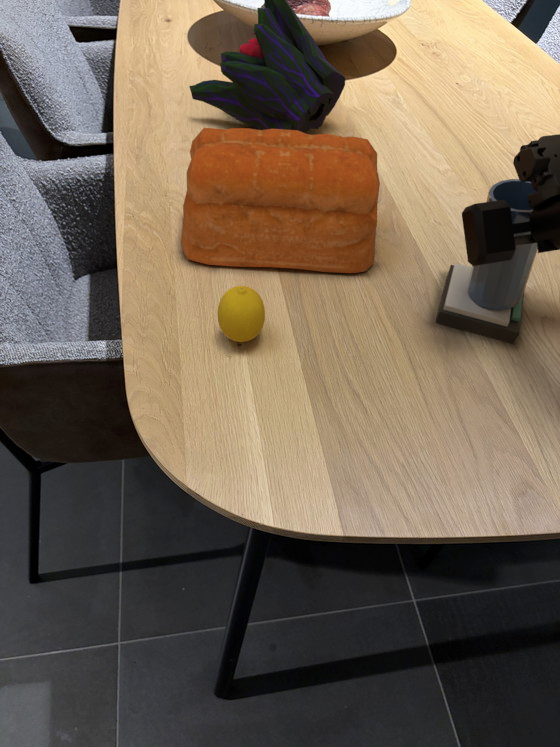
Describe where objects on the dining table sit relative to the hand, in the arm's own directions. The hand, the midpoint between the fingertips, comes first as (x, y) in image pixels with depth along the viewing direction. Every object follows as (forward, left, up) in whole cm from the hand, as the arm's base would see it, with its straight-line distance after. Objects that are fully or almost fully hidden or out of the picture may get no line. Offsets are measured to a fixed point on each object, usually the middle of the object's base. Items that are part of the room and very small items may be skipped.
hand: (500, 237), depth 72 cm
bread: (+28, -2, -11) cm, 30 cm away
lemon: (+26, +18, -11) cm, 34 cm away
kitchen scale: (-1, +1, -10) cm, 10 cm away
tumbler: (-2, +1, -7) cm, 8 cm away
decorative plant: (+43, -35, -11) cm, 57 cm away
